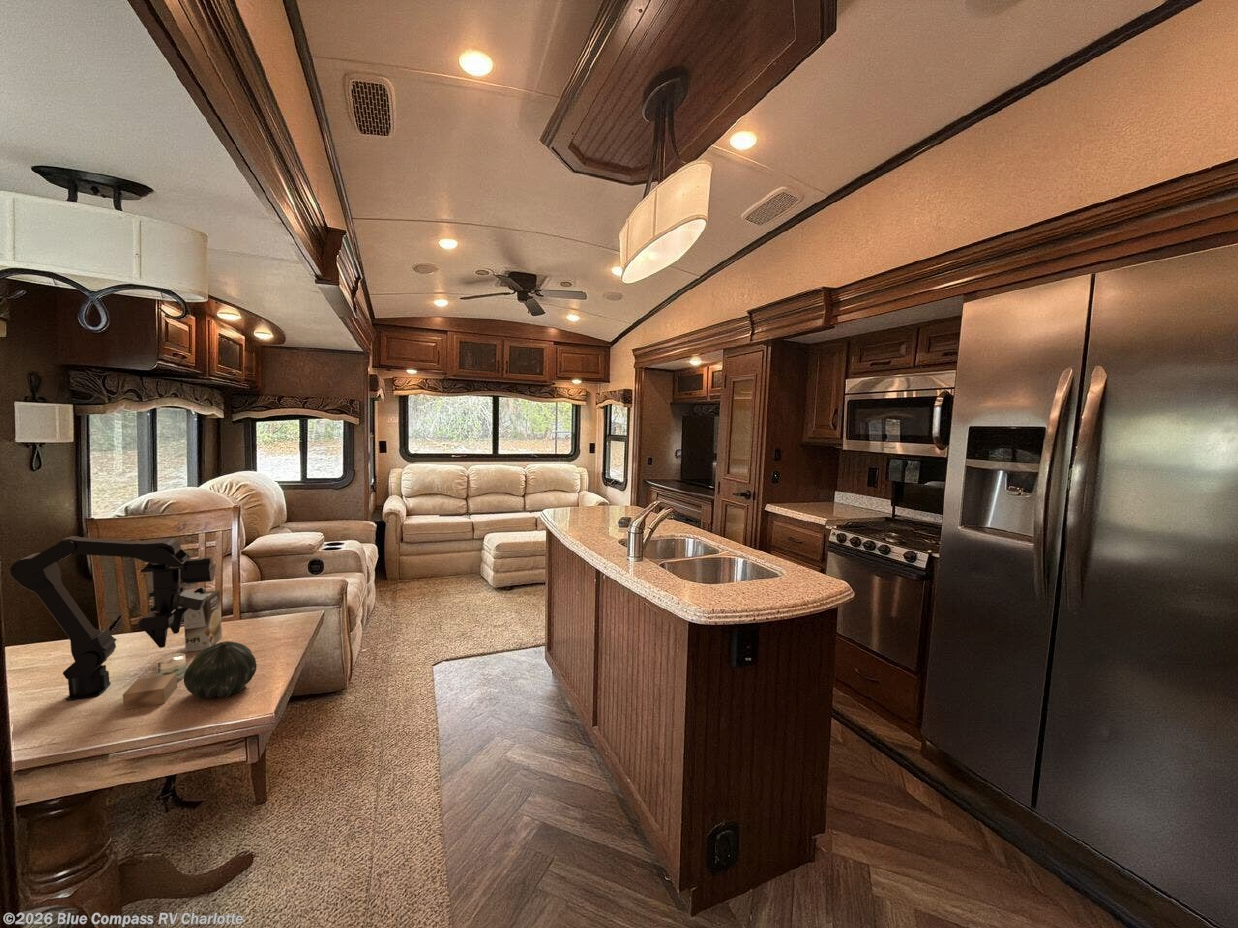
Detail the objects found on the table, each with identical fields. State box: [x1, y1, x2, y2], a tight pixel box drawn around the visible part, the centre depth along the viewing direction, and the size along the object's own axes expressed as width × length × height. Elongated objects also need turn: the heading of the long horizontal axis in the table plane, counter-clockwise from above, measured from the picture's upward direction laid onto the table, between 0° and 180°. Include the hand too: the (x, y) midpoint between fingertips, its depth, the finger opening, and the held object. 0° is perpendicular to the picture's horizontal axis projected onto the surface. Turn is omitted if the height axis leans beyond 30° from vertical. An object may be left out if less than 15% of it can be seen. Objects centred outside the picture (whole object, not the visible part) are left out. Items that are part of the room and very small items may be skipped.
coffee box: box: [183, 590, 223, 652], centre depth 160 cm, size 9×6×16 cm
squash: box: [183, 640, 258, 699], centre depth 134 cm, size 14×15×15 cm
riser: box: [122, 674, 178, 711], centre depth 131 cm, size 8×8×4 cm
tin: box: [155, 652, 187, 683], centre depth 140 cm, size 6×6×6 cm
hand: (169, 640), depth 139 cm, fingers open, 9 cm apart
